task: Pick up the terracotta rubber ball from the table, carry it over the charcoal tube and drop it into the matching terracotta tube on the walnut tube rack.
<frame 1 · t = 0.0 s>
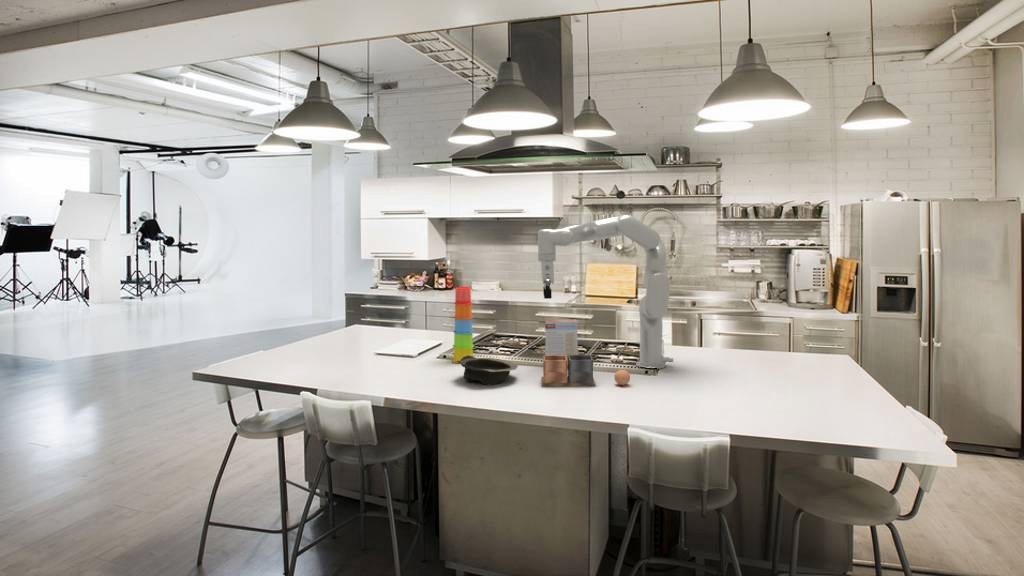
hand: (547, 297, 265), 31 cm above the countertop, tool pointing down, fingers open, 9 cm apart
stone bowl: (488, 380, 249), on the countertop
stacking cups: (463, 361, 283), on the countertop
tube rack: (567, 382, 242), on the countertop
cracker box: (561, 367, 268), on the countertop
ball: (622, 377, 238), point 3 cm above the countertop
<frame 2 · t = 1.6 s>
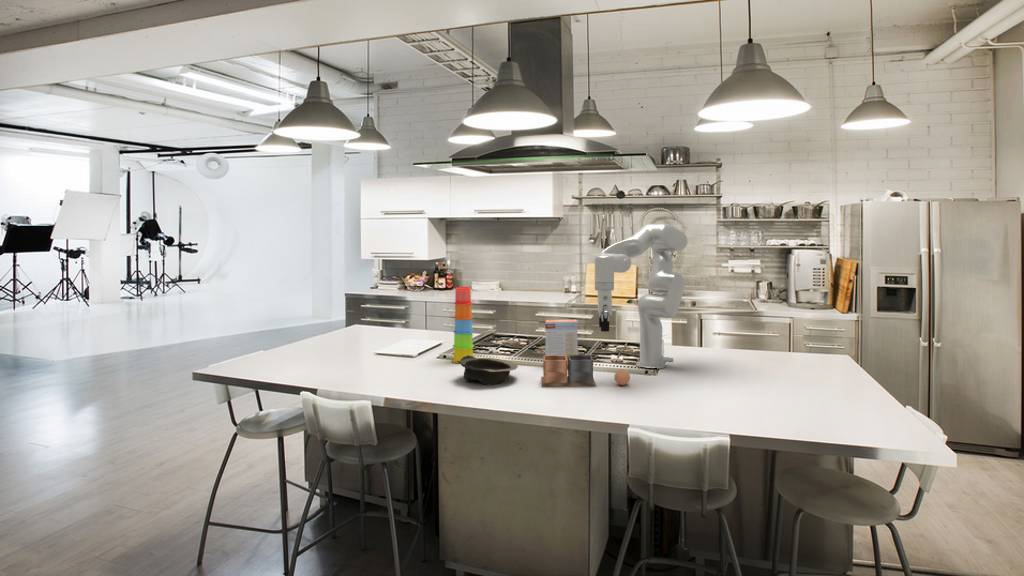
hand: (604, 329, 242), 21 cm above the countertop, tool pointing down, fingers open, 9 cm apart
nothing on the countertop moved.
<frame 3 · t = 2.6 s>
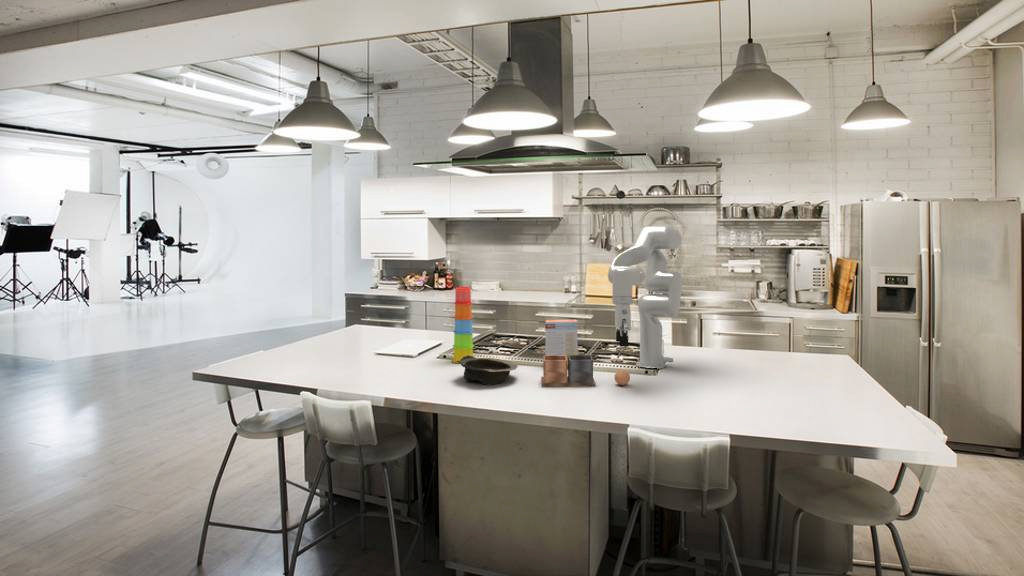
hand: (621, 343, 236), 16 cm above the countertop, tool pointing down, fingers open, 9 cm apart
nothing on the countertop moved.
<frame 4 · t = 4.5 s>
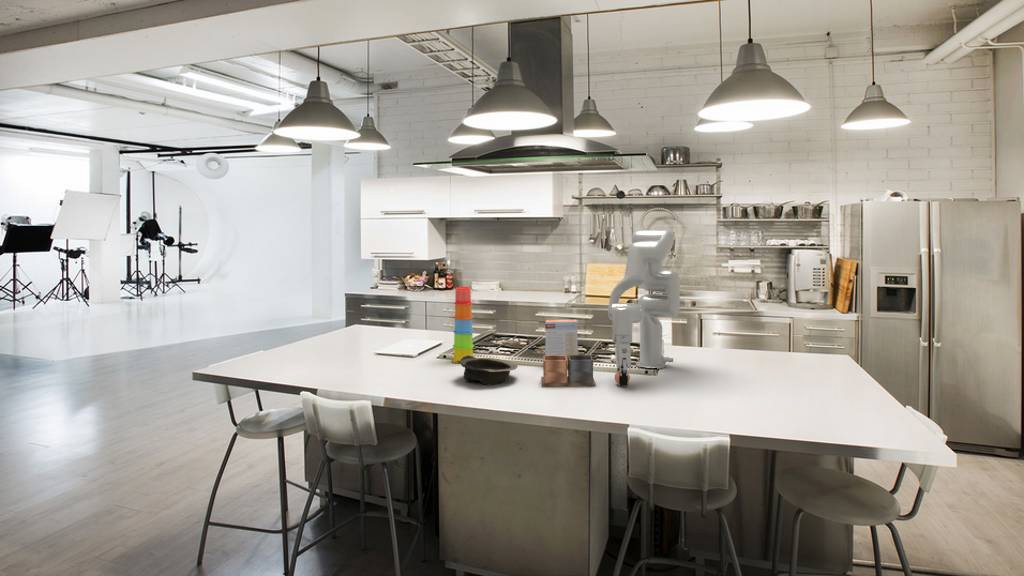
hand: (622, 383, 238), 1 cm above the countertop, tool pointing down, fingers closed on ball, 5 cm apart
ball: (622, 377, 238), point 3 cm above the countertop, touching gripper
everything else where it was.
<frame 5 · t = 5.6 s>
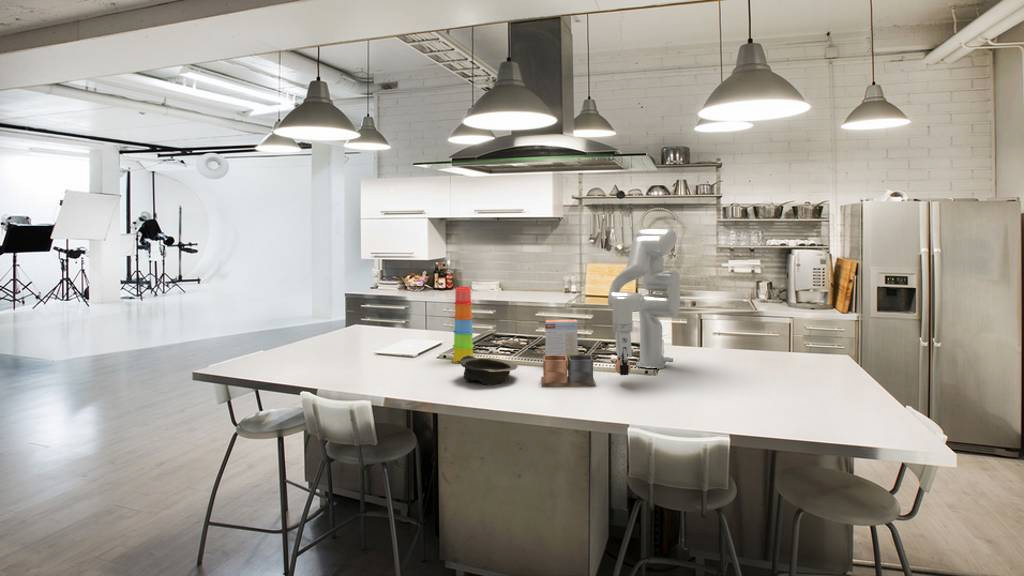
hand: (622, 372, 238), 5 cm above the countertop, tool pointing down, fingers closed on ball, 5 cm apart
ball: (622, 366, 238), point 7 cm above the countertop, touching gripper
everything else where it was.
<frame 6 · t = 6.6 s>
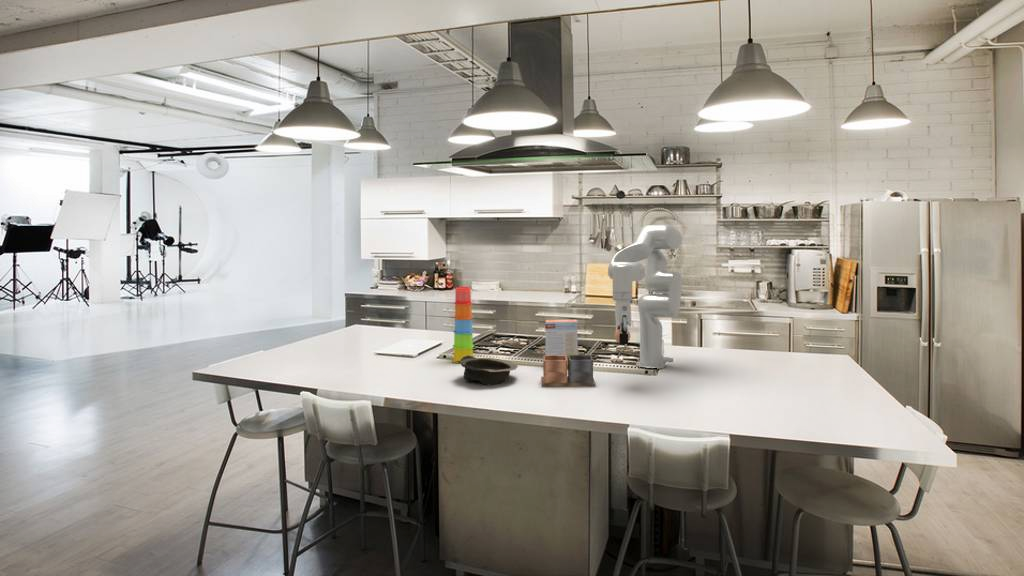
hand: (622, 341, 236), 17 cm above the countertop, tool pointing down, fingers closed on ball, 5 cm apart
ball: (622, 336, 236), point 19 cm above the countertop, touching gripper
everything else where it was.
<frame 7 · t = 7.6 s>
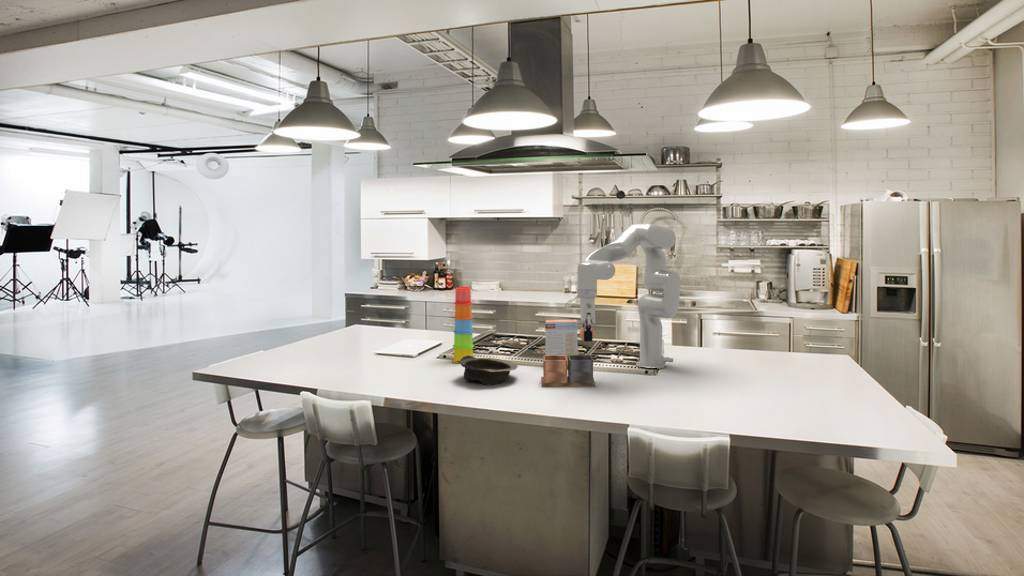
hand: (587, 339, 238), 18 cm above the countertop, tool pointing down, fingers closed on ball, 5 cm apart
ball: (587, 333, 238), point 20 cm above the countertop, touching gripper
everything else where it was.
when the fingers open (12 cm above the countertop, at t = 9.8 s): ball drops 11 cm, resting on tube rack.
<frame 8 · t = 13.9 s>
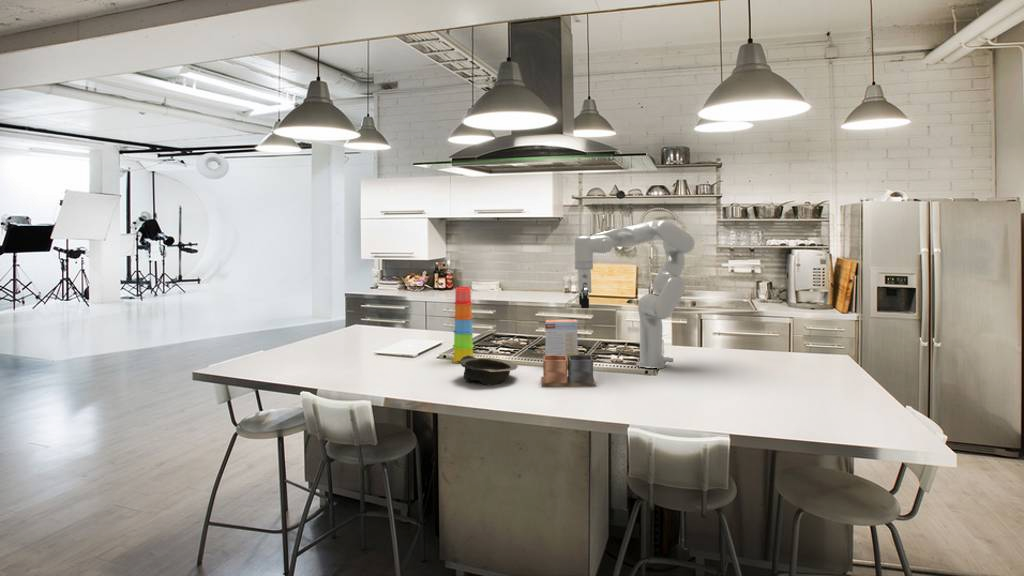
hand: (584, 306, 255), 28 cm above the countertop, tool pointing down, fingers open, 9 cm apart
ball: (555, 372, 242), point 4 cm above the countertop, touching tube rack
everything else where it was.
at the end: ball 0.1 cm from the target spot on the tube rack, point 4.2 cm above the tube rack's base; the gripper is holding nothing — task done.
